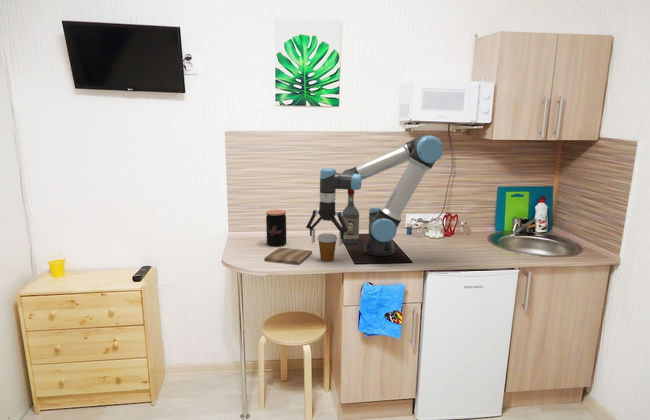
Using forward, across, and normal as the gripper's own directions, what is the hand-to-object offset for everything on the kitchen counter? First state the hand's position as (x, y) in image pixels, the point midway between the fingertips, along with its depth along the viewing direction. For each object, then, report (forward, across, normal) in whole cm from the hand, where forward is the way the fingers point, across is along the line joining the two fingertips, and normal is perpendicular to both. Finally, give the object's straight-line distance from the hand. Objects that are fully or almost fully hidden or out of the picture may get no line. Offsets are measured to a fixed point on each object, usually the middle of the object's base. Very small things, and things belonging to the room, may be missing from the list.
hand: (326, 244), depth 212 cm
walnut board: (+8, -18, -3) cm, 20 cm away
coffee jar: (+8, -33, +16) cm, 38 cm away
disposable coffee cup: (+8, +1, 0) cm, 8 cm away
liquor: (+8, +4, +33) cm, 34 cm away
